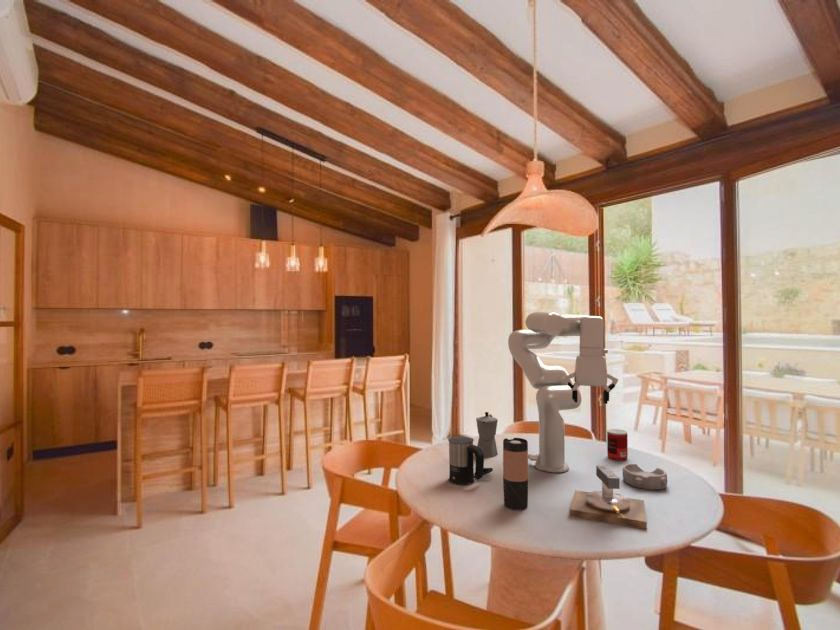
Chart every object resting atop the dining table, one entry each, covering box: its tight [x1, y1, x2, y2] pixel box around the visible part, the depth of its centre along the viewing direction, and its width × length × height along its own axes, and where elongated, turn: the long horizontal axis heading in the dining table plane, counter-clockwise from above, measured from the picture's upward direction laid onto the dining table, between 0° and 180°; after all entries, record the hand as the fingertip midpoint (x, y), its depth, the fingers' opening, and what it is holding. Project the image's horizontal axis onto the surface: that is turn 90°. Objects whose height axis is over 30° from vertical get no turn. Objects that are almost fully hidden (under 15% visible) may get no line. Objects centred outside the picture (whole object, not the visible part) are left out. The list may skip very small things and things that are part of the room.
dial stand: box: [569, 489, 648, 530], centre depth 133 cm, size 20×16×2 cm
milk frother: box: [448, 436, 494, 486], centre depth 161 cm, size 14×16×15 cm
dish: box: [622, 463, 668, 490], centre depth 156 cm, size 14×14×5 cm
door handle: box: [586, 465, 630, 513], centre depth 132 cm, size 14×12×10 cm
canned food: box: [606, 428, 629, 461], centre depth 185 cm, size 8×8×11 cm
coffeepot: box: [475, 411, 498, 458], centre depth 192 cm, size 15×9×18 cm, turn 159°
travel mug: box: [502, 437, 529, 511], centre depth 137 cm, size 8×8×20 cm
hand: (590, 402), depth 151 cm, fingers open, 9 cm apart
